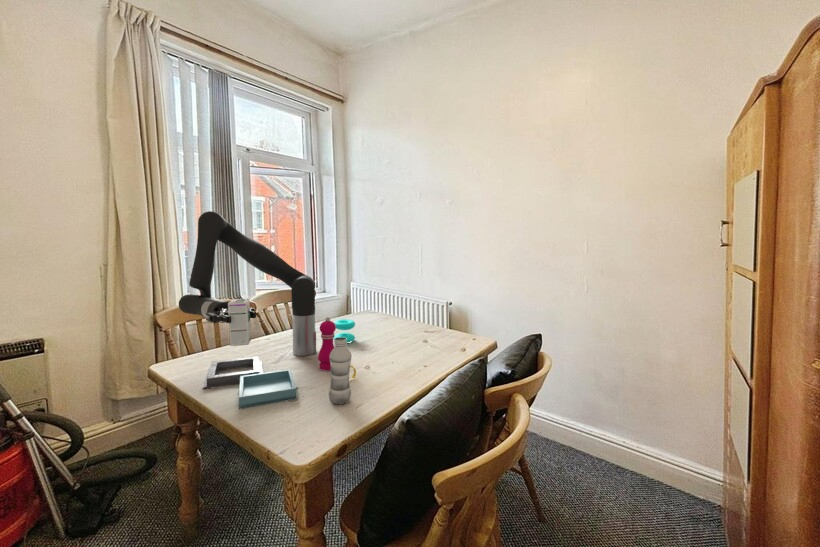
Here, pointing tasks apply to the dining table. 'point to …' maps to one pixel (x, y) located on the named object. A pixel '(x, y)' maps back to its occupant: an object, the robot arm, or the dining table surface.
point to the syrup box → (239, 322)
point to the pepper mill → (326, 343)
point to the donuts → (345, 325)
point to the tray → (266, 388)
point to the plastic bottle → (340, 372)
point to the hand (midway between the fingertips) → (243, 317)
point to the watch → (354, 371)
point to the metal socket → (231, 378)
